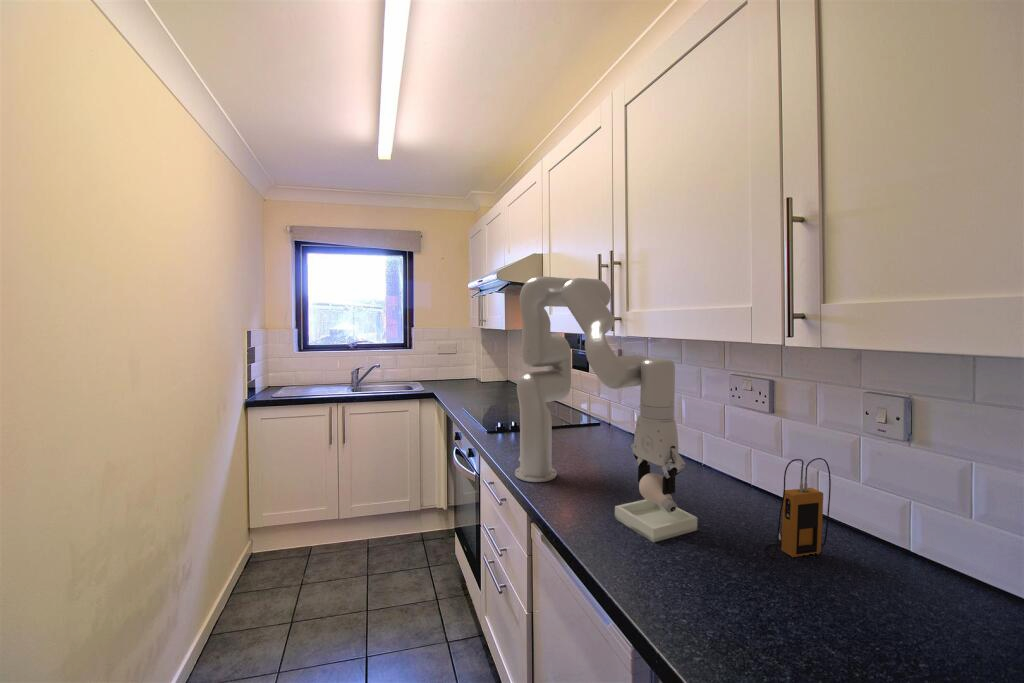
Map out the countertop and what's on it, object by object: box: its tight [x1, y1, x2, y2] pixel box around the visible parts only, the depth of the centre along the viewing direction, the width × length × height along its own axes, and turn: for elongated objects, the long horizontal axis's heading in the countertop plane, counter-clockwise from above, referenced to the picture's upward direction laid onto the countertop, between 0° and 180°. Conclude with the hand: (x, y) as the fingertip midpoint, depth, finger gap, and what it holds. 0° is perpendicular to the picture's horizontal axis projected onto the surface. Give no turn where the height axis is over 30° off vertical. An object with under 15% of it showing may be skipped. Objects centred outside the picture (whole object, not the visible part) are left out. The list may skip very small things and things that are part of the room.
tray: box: [614, 498, 698, 543], centre depth 107 cm, size 13×13×3 cm
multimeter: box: [764, 457, 832, 559], centre depth 97 cm, size 15×10×20 cm
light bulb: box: [638, 472, 678, 513], centre depth 105 cm, size 7×7×11 cm
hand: (655, 487), depth 107 cm, fingers closed on light bulb, 7 cm apart
